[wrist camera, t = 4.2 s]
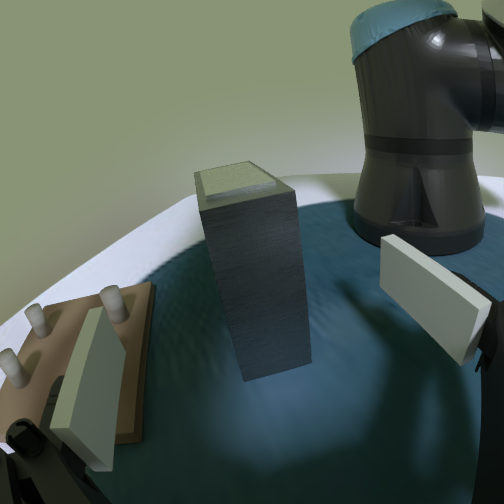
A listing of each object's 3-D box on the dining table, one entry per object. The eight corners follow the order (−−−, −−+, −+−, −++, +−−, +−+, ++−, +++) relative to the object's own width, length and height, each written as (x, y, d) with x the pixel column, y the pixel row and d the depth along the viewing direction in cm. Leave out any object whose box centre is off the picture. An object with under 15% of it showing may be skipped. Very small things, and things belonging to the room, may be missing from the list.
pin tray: (154, 290, 28) (142, 256, 26) (141, 442, 13) (111, 402, 12) (48, 314, 26) (34, 284, 25) (-8, 440, 12) (-41, 406, 10)
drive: (269, 281, 26) (248, 158, 22) (311, 363, 17) (294, 185, 13) (222, 293, 26) (193, 170, 21) (243, 382, 17) (197, 206, 12)
